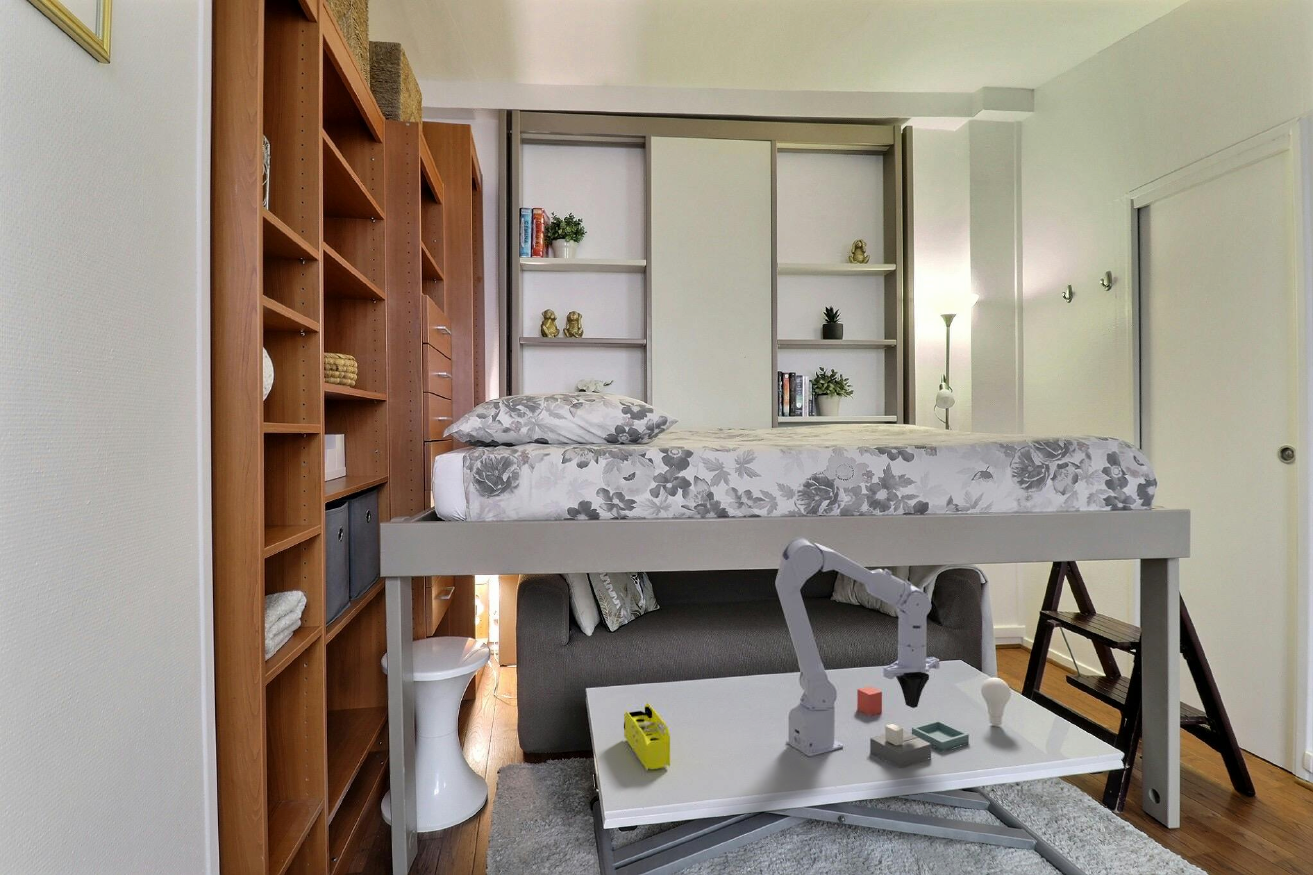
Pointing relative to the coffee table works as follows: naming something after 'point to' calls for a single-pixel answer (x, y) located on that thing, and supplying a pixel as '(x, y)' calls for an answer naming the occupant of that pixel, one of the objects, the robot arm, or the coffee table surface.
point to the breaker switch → (894, 734)
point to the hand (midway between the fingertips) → (911, 705)
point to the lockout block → (869, 700)
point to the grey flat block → (901, 750)
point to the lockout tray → (941, 735)
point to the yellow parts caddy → (648, 737)
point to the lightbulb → (995, 698)
